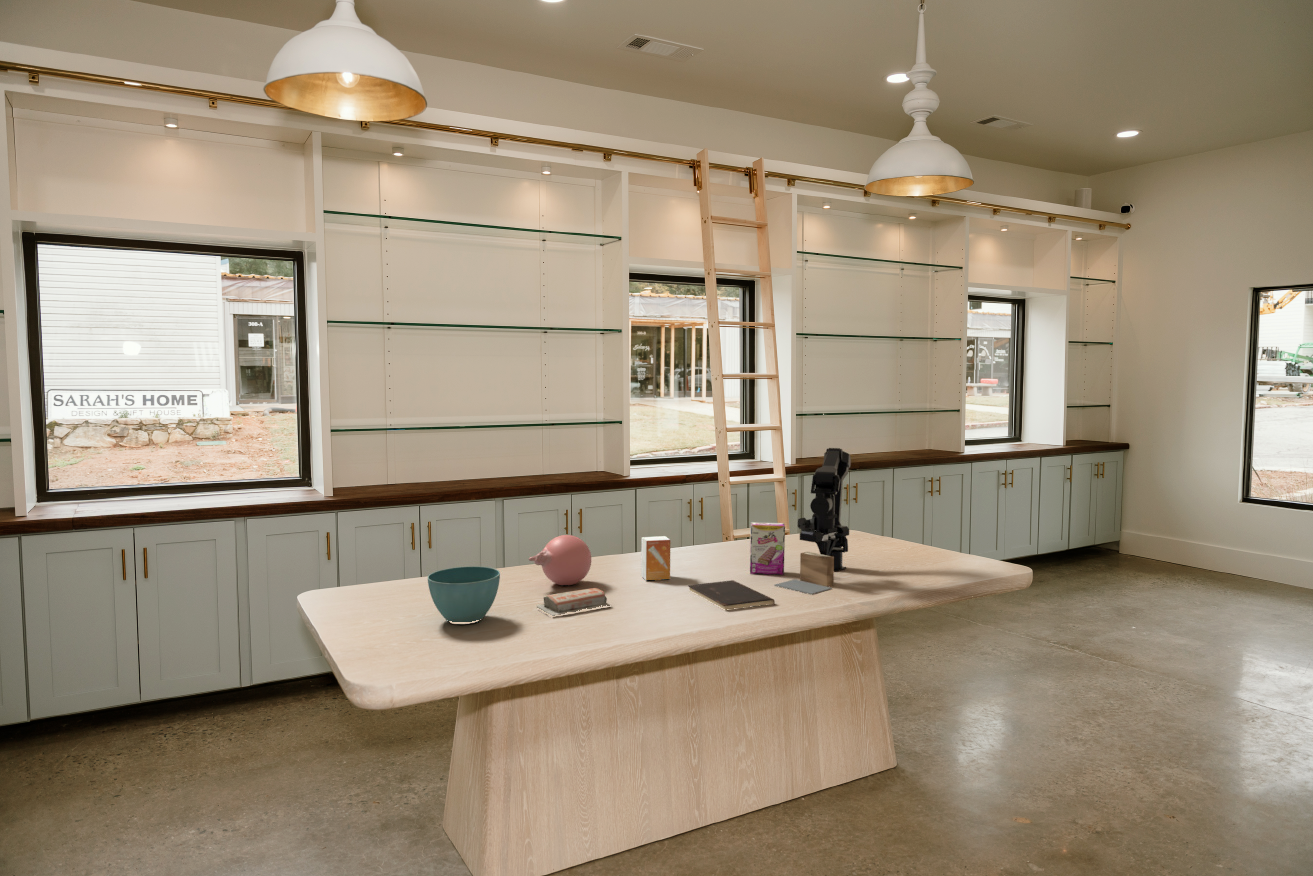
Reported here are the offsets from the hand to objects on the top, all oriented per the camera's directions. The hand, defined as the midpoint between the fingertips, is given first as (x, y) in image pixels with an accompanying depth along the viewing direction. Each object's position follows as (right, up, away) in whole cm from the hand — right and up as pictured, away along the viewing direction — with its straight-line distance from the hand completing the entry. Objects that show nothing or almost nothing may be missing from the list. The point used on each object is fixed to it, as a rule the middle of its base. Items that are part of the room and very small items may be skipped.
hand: (824, 560), depth 242 cm
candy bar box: (-16, -6, +11) cm, 21 cm away
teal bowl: (-102, -9, -41) cm, 111 cm away
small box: (-53, -7, +4) cm, 53 cm away
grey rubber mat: (-8, -7, -7) cm, 13 cm away
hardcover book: (-31, -9, -18) cm, 37 cm away
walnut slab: (-3, -7, -2) cm, 8 cm away
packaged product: (-75, -9, -30) cm, 81 cm away
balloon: (-82, -7, -5) cm, 83 cm away
